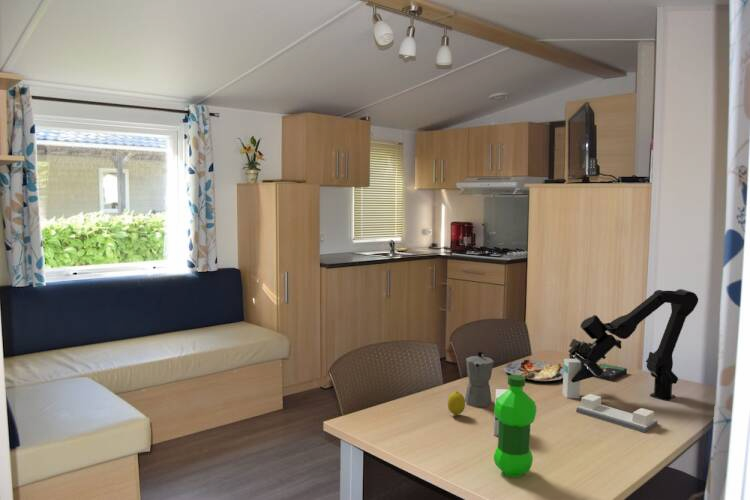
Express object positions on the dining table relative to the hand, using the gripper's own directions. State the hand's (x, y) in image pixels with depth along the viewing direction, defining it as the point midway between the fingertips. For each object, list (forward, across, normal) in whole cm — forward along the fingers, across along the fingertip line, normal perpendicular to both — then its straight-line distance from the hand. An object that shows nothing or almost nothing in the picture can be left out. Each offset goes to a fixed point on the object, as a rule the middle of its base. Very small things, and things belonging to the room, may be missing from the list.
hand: (567, 378), depth 206 cm
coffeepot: (+28, +6, -19) cm, 34 cm away
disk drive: (-13, -25, +23) cm, 37 cm away
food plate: (+7, -25, +3) cm, 26 cm away
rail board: (-1, +20, +11) cm, 23 cm away
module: (+4, 0, +6) cm, 7 cm away
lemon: (+35, +19, -26) cm, 48 cm away
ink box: (+27, +31, -17) cm, 45 cm away
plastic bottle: (+30, +57, -20) cm, 67 cm away
